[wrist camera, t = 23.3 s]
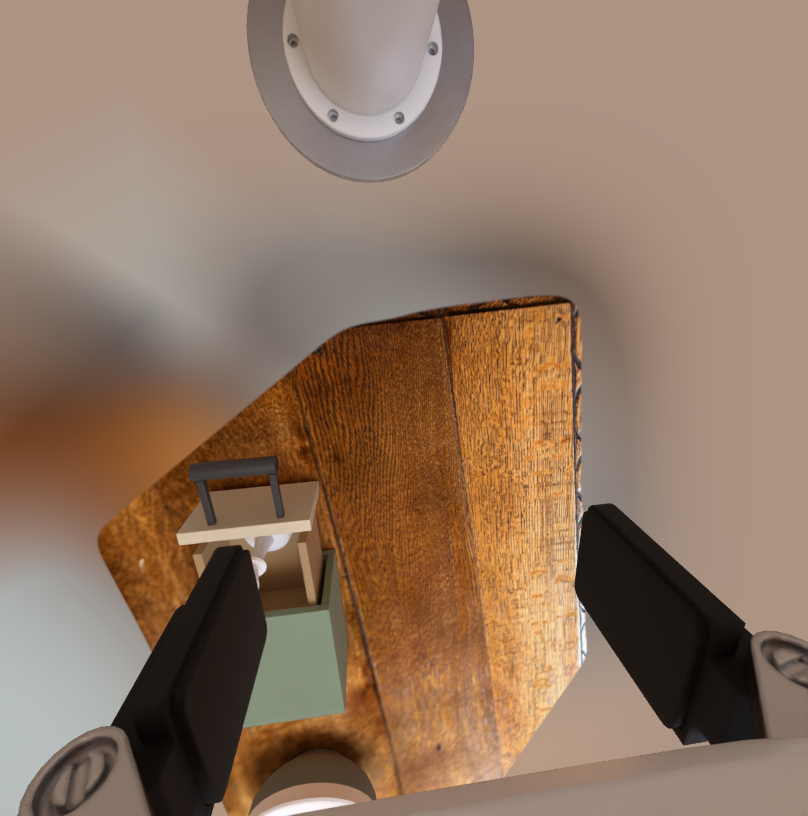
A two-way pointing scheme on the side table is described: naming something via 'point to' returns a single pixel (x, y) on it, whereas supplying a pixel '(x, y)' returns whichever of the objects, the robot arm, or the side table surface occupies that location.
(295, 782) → the bowl
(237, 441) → the side table surface
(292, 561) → the drawer
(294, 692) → the cabinet
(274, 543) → the chess piece
